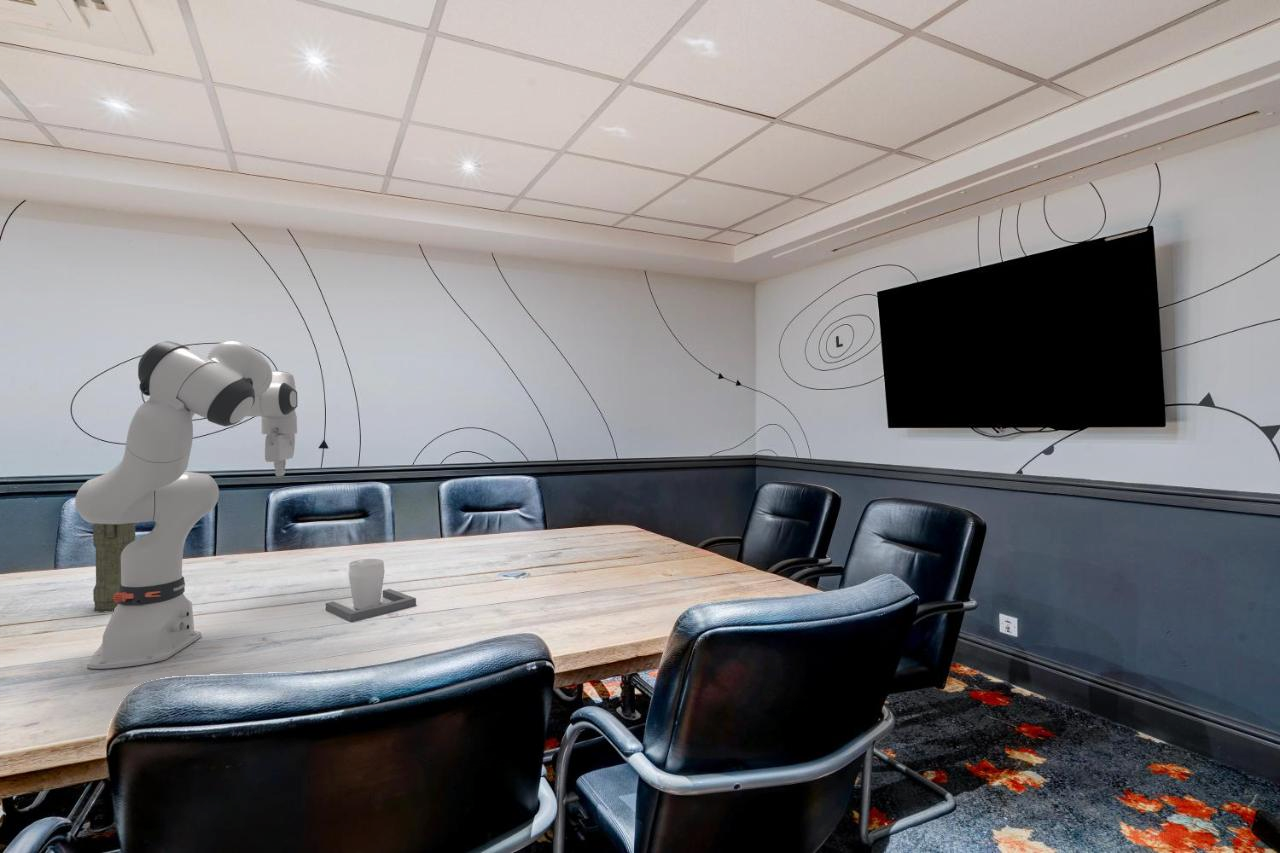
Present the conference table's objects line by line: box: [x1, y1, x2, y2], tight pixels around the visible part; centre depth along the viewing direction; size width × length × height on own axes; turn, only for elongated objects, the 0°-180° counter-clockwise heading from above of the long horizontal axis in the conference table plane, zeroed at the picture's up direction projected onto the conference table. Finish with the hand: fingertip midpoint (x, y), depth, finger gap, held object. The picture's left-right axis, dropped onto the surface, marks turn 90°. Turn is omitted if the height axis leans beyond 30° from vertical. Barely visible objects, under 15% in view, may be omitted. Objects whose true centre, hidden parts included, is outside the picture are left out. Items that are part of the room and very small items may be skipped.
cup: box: [348, 558, 385, 610], centre depth 170 cm, size 9×9×12 cm
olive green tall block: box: [92, 523, 136, 612], centre depth 168 cm, size 9×12×35 cm
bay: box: [325, 588, 417, 623], centre depth 169 cm, size 14×18×2 cm
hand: (280, 475), depth 179 cm, fingers closed
